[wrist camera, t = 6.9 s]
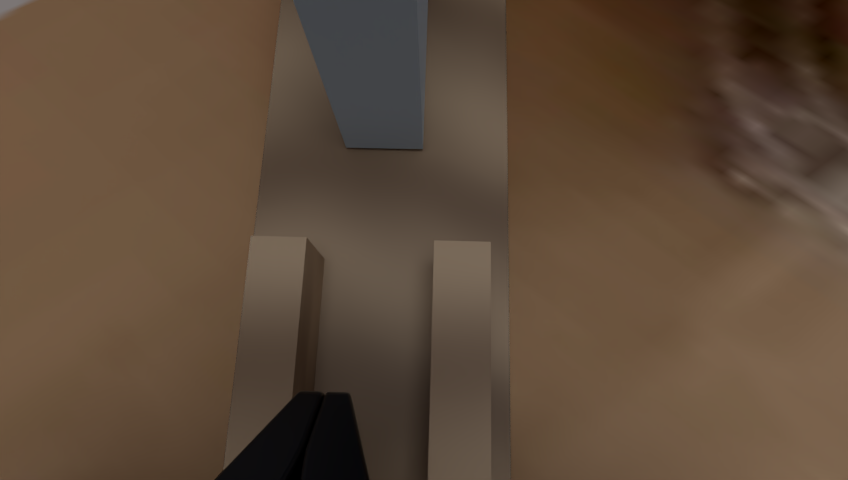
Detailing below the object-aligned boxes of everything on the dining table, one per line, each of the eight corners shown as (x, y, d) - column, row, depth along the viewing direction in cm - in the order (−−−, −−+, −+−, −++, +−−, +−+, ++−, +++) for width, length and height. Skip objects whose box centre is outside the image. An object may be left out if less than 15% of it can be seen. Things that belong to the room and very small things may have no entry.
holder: (507, 582, 15) (527, 636, 12) (226, 570, 16) (169, 621, 12) (501, -58, 21) (514, -142, 18) (297, -60, 21) (271, -144, 18)
